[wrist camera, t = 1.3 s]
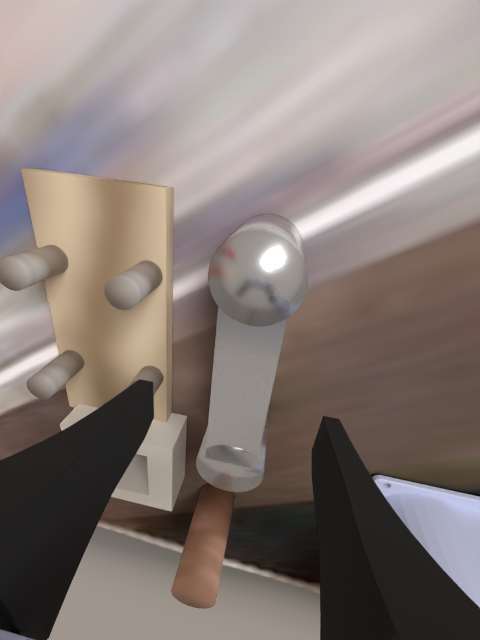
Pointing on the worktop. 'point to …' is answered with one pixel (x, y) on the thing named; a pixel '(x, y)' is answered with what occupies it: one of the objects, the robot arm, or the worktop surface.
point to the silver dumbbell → (249, 344)
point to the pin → (204, 549)
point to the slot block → (150, 462)
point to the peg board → (101, 284)
